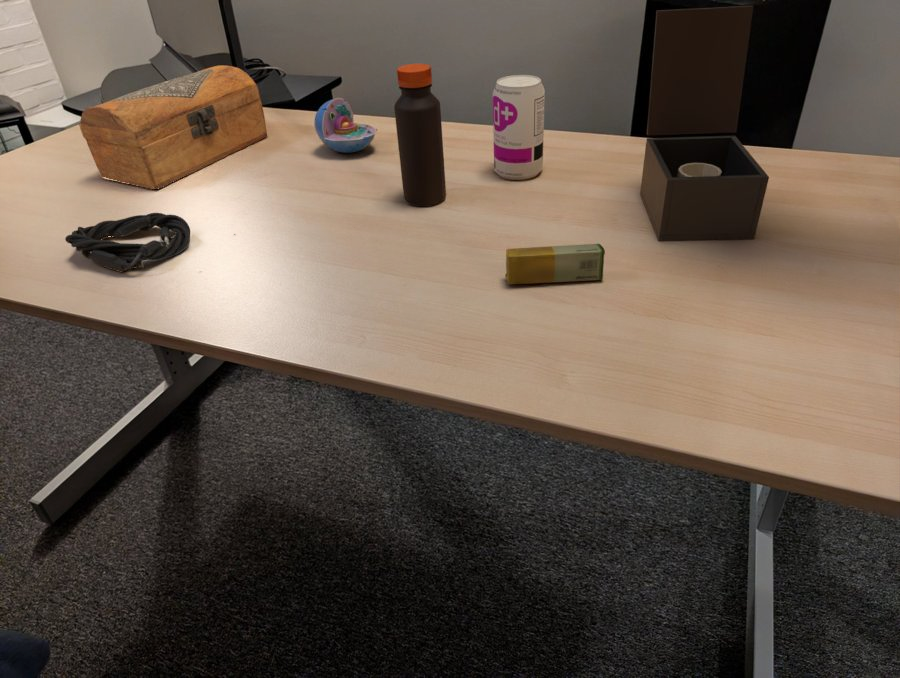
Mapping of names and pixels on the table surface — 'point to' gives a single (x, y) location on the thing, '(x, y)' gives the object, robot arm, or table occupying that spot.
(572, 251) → the medication box
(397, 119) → the bottle
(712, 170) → the creamer cup
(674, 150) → the open topped square crate
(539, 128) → the supplement can
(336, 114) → the cell model
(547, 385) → the table surface
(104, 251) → the cable
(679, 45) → the dark brown box lid
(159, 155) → the wooden box
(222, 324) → the table surface
